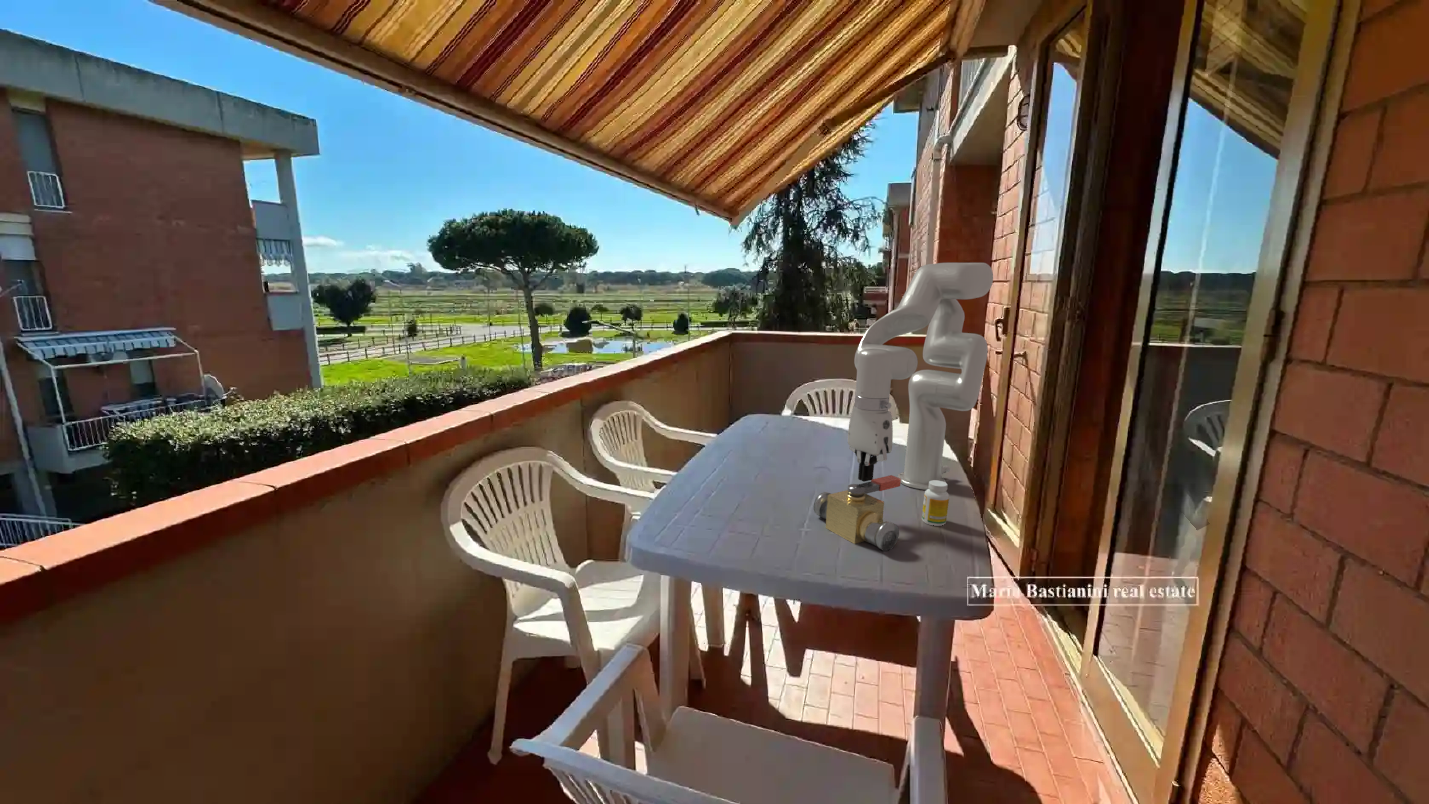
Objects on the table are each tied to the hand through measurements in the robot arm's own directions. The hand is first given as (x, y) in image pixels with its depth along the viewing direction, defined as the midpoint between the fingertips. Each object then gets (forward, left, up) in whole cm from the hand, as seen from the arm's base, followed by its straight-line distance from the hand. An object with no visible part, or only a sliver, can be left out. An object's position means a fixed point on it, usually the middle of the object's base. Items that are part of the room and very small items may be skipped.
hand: (865, 479), depth 132 cm
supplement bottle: (-12, +10, -9) cm, 19 cm away
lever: (+3, +5, 0) cm, 6 cm away
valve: (+8, +5, -9) cm, 13 cm away
